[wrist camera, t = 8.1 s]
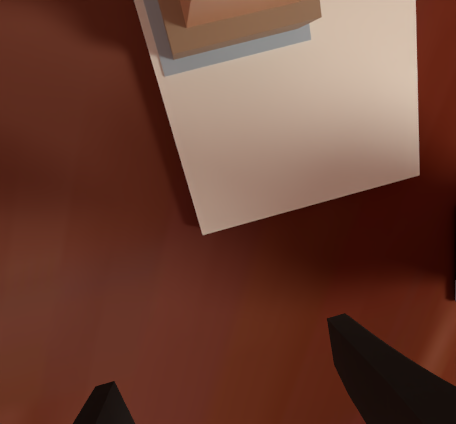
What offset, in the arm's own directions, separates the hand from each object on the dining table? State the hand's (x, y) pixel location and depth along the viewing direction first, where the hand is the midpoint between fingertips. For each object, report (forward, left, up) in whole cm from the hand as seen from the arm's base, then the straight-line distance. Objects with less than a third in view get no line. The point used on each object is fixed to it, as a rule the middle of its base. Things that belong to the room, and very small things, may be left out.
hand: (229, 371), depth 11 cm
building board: (-7, -9, -10) cm, 15 cm away
